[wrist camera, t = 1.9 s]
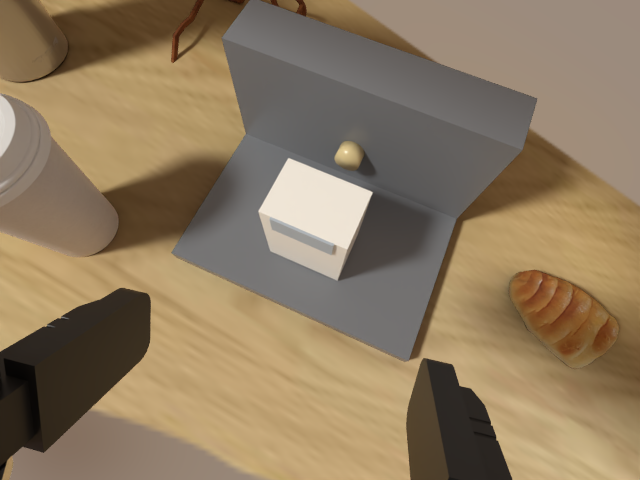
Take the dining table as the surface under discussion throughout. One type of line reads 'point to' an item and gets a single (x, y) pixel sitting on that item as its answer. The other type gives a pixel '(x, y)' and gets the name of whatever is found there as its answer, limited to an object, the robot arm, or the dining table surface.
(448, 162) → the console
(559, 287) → the pastry
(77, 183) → the coffee cup
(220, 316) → the dining table surface
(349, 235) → the white box
